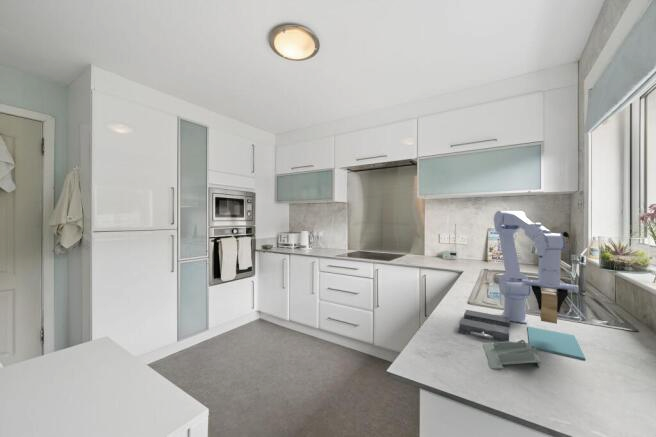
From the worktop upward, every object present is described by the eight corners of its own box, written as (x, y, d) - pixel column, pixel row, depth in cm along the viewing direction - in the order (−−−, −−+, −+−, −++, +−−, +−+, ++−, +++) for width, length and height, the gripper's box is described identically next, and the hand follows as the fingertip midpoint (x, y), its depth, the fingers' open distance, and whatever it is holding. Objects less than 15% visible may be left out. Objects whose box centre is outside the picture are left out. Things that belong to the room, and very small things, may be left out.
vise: (466, 315, 114) (466, 308, 114) (509, 323, 105) (509, 316, 105) (457, 334, 96) (457, 326, 96) (508, 346, 88) (508, 337, 87)
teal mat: (527, 327, 101) (527, 326, 101) (574, 336, 94) (574, 335, 94) (529, 347, 87) (529, 345, 87) (585, 360, 79) (585, 358, 79)
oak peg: (540, 317, 94) (540, 291, 93) (555, 319, 91) (556, 293, 91) (541, 321, 90) (541, 294, 90) (556, 323, 88) (557, 296, 88)
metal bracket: (527, 333, 84) (545, 357, 70) (533, 352, 84) (552, 380, 70) (477, 339, 89) (484, 362, 75) (482, 357, 89) (490, 383, 75)
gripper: (522, 268, 91) (522, 309, 92) (581, 274, 83) (580, 318, 83) (522, 265, 97) (521, 303, 97) (576, 270, 89) (576, 311, 89)
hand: (548, 310), depth 91 cm, fingers closed on oak peg, 4 cm apart
